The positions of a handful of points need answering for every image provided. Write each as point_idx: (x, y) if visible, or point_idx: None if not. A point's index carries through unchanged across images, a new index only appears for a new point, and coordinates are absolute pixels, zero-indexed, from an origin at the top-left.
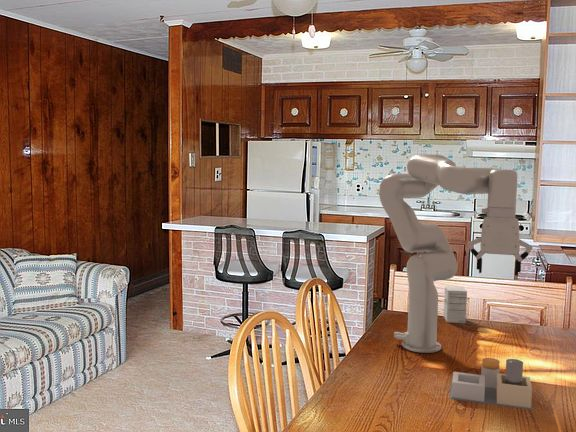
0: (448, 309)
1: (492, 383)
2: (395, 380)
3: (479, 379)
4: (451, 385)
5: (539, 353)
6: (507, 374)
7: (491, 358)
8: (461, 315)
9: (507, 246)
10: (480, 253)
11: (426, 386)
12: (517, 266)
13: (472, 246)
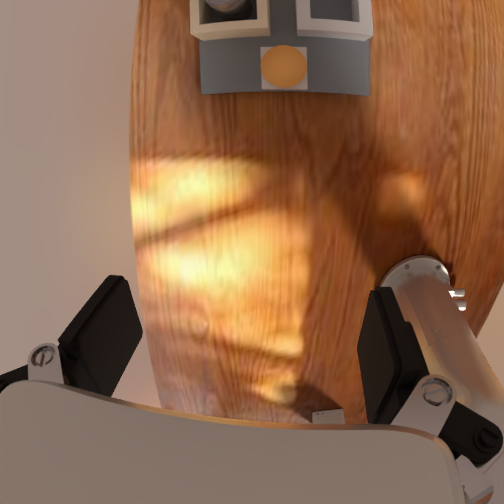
0: None
1: None
2: (469, 83)
3: (308, 1)
4: (367, 43)
5: (190, 316)
6: None
7: (282, 85)
8: (319, 421)
9: (50, 480)
10: (426, 428)
11: (414, 59)
12: (81, 314)
13: (498, 480)
